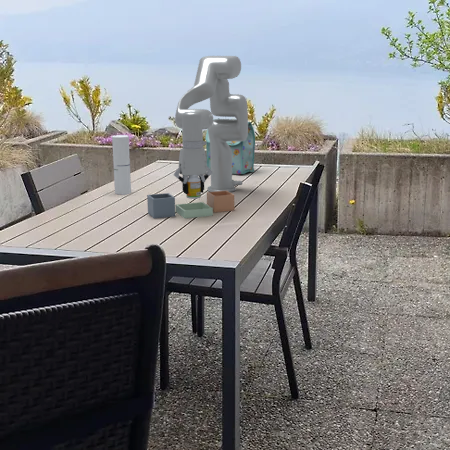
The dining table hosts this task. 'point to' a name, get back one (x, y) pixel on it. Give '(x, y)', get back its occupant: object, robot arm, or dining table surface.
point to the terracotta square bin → (221, 201)
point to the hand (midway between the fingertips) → (193, 192)
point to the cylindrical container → (121, 164)
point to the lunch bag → (238, 152)
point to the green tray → (194, 210)
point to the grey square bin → (161, 205)
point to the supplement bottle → (194, 187)
